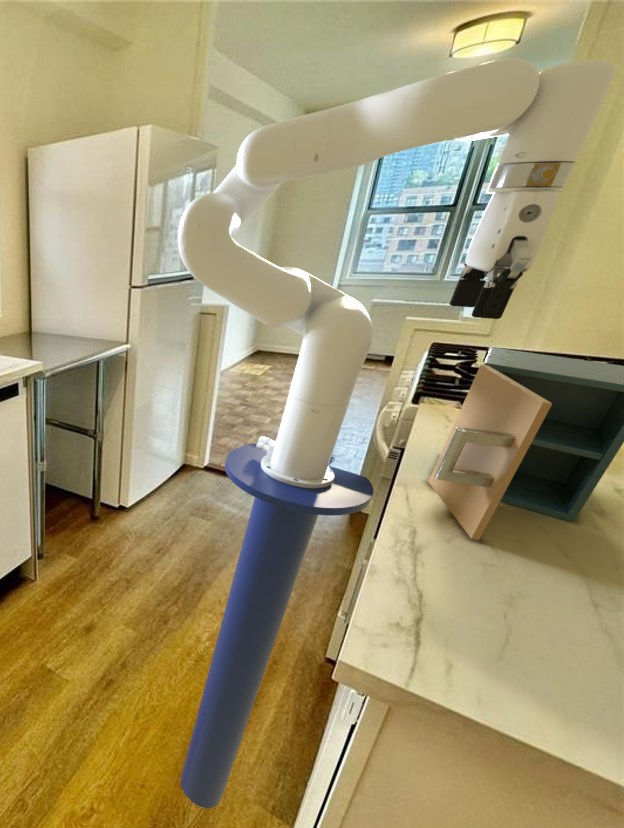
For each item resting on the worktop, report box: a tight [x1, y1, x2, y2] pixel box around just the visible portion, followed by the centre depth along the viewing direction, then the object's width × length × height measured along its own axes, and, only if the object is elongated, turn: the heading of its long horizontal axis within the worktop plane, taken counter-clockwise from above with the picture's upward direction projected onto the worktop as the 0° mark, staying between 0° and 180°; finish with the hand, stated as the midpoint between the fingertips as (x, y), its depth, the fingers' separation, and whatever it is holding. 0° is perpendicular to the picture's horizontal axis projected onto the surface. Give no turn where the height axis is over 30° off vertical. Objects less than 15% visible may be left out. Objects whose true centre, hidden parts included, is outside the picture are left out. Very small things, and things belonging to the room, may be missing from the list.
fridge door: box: [428, 364, 552, 541], centre depth 75 cm, size 7×18×22 cm, turn 160°
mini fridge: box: [482, 346, 624, 523], centre depth 81 cm, size 14×18×22 cm
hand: (472, 311), depth 72 cm, fingers open, 9 cm apart
